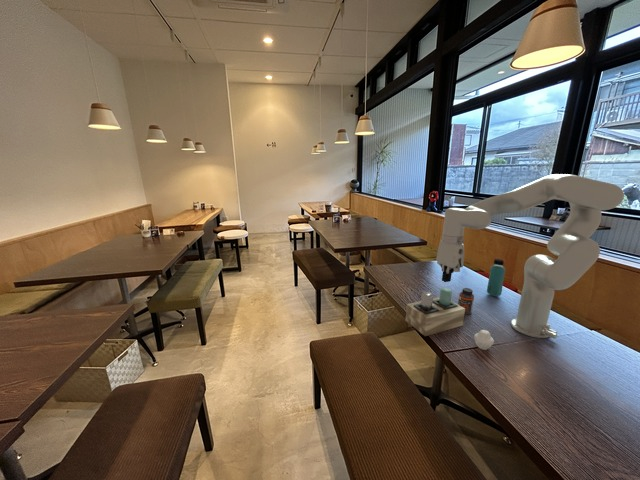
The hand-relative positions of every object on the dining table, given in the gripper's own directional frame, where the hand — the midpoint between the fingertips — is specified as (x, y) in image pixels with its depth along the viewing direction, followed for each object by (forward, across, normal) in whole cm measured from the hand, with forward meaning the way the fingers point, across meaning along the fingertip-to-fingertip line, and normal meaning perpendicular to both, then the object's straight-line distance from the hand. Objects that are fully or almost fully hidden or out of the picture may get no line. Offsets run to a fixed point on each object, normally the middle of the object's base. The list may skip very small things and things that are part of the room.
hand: (446, 281), depth 108 cm
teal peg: (+12, 0, -1) cm, 12 cm away
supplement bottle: (+19, +2, -16) cm, 24 cm away
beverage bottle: (+18, +8, -43) cm, 47 cm away
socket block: (+19, 0, +4) cm, 19 cm away
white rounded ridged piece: (+19, -20, -1) cm, 27 cm away
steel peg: (+12, 0, +9) cm, 15 cm away
